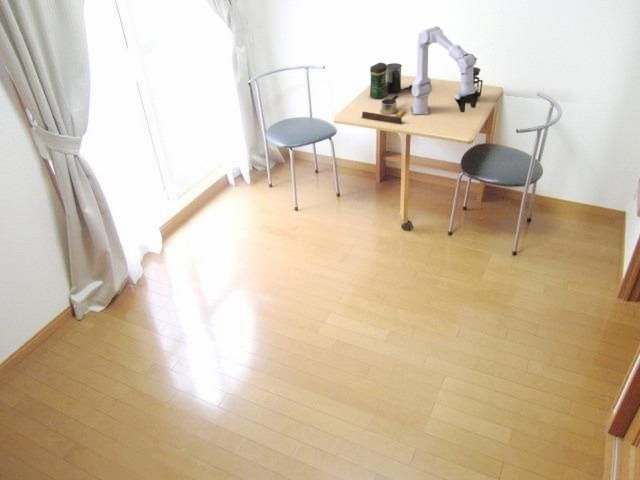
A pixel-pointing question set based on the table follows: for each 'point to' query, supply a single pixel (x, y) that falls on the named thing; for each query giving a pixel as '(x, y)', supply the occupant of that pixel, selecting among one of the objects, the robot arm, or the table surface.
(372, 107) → the table surface
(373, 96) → the coffee jar
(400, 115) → the knife
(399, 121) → the walnut rail
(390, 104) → the steel pot
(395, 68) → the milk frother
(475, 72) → the french press
